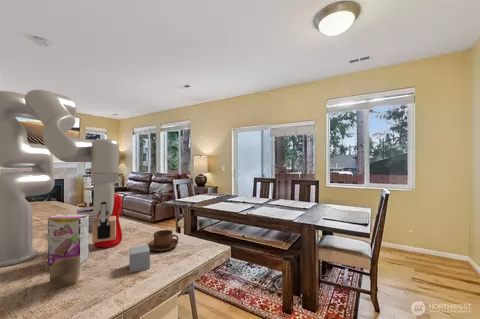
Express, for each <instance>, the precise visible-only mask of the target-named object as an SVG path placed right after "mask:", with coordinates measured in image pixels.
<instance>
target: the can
mask: <svg viewBox="0 0 480 319" xmlns="http://www.w3.org/2000/svg"><path fill="white" fill-rule="evenodd" d="M76 215H89V233H90V234H92V223H93V221H94V219H95V218H97V216H96V217H94V216H93V206H87V207H82V208H79V209H76Z"/></svg>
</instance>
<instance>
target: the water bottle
mask: <svg viewBox="0 0 480 319" xmlns="http://www.w3.org/2000/svg"><path fill="white" fill-rule="evenodd" d="M122 207H123V199H122V197H121V195H120V194H118V193H116V192H114V205H113V211H112V214H111V216H116V237H115V240H107V241H100V242H93V245H94V247H95V248H104V249H106V248H107V249H108V248H112V247H114V246H116V245H118V244H120V243H121V242H122V241H123V232H122V231H123V230H122V226H121V223H120V220H119V219H120V218H121V217H122V215H123V211H122ZM98 217H99V213H98V215H97V218H98Z"/></svg>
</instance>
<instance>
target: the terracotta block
mask: <svg viewBox="0 0 480 319" xmlns="http://www.w3.org/2000/svg"><path fill="white" fill-rule="evenodd" d="M106 218H107V217H106ZM98 220H99V217H98V218H95V219H94V221H93V223H92V233H91V234H92V236H91V242H92V243H93V244H94V242H100V241H107V240H115V237H116V216H109V224H110V237H109V238H105V239H98Z"/></svg>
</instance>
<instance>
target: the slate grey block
mask: <svg viewBox="0 0 480 319" xmlns="http://www.w3.org/2000/svg"><path fill="white" fill-rule="evenodd" d="M128 253H129V255H128V256H129V260H128V262H129V263H128V264H129V273H130V274H131V273H135V272H136V273H137V272H141V271H146V270H150V268H151V266H150V265H151V263H150V262H151V249H149V246H148V244H145V245H138V246H131V247H129V252H128Z"/></svg>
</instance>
